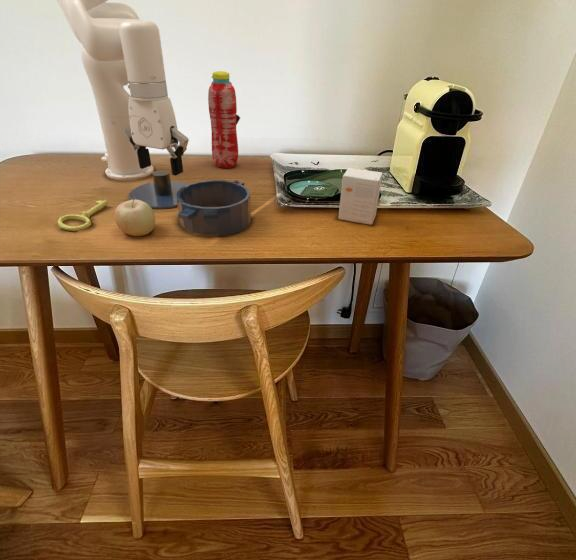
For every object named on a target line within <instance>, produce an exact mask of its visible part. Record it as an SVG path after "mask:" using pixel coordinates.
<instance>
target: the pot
mask: <svg viewBox="0 0 576 560" xmlns="http://www.w3.org/2000/svg"><path fill="white" fill-rule="evenodd" d="M251 201H252V200H251V192H250V189H249V188H248V187H247V186H245V182H243V181H239V180H234V181H230V180H222V179H221V180H219V179H210V180H209V179H208V180H200V181H195V182H192V183H188V185H186V186H184V187H182V188H181V189H180V190H179V191H178V192H177V205H178V207H177V217H178V220H179V225H180V226H181V227H183V229H185V230H187V231H189V232H191V233H193V234H194V233H195V234H199V235H205V236H216V238H220V237H221V238H222V237H228V236H232V235H235V234H238V233H241V232H243V231H244V230H245V229H246V228H248V227H249V225H250V223H251V221H252V220H251V219H252V210H251V209H252V207H251Z"/></svg>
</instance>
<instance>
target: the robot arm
mask: <svg viewBox="0 0 576 560" xmlns="http://www.w3.org/2000/svg"><path fill="white" fill-rule="evenodd" d="M108 1H109V0H57V2H58V4H59V6H60V8H61V11H62V12H63V13H62V14H63V15H64V16H65V18H66V20H67V22H68V24H69V27H70V29H71V30H72V32H73V35H74V36H75V37H76V39H77V40H78V42H79V43H81V45H82V48H81V49H82V50H81V61H82V64H83V68H84V71H85V73H86V76H87V79H88V81H89V84H90V87H91V90H92V93H93V97H94V100H95V104H96V110H97V113H98V116H99V117H98V118H99V121H100V126H101V131H102V135H103V140H104V144H105V149H106V152H105V153H104V156H101V161H102V162H103V163H107V168H106V169H105V171H104V172H105V176H107V177H108V178H110V179H114V180H124V181H125V180H126V181H127V180H137V179H142V178H145V177H148V176H150V175H152V173H153V172H154V171H155V169H154V166H153V165H152V161H151V155H150V151H149V148H150V149H157V150H167V152H168V154H169V155H170V156H171V157H170V158H169V162H170V167H171V168H170V169H171V175H172V176H173V177H174V176H178V175H180V174H183V173H184V165H183V159H182V158H183V157H182V156H184V154H185V152H186V151H187V148H188V144H189V141H190V139H189V137H187V136H186V135H185V134H183V132H181V131H180V130H179V129H178V124H177V119H176V114H175V111H174V107H173V103H172V100H171V98H170V97H169V95H168V92H169V91H168V86H167V85H168V84H167V79H166V78H167V77H166V70H165V64H164V57H163V49H162V42H161V34H160V29H159V27H158V25H157V24H156V23H155V22H153V21H149V20H142V19H140V17H139V16H138V14H137V12H136V11H135V10H134V9H133V8H132V7H130V6H129V5H128V4H125V3H121V2H108ZM125 86H127V88H128V90H129V92H128V91H127V90H126V89H125Z"/></svg>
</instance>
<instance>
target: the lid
mask: <svg viewBox="0 0 576 560" xmlns="http://www.w3.org/2000/svg"><path fill="white" fill-rule="evenodd" d="M151 177H152V181H151V182H147V183H144V184H141V185H138V186H137V187H135V188H133V189H132V190H131V191H130V192H129V193H128V199H129V200H133V199H134V197H136V198H135V199H136V200H141V201H143V202H145V203H147V204H148V205H149V206H150V207H151V208H152V210H166V209H173V208H174V209H175V208H178V205H177V192H178V191H179V190H180V189H181V188H182V187H184V186H186V185H188V184H189V183H188V182H184V181H177V180H171V173H170V171H169V170H167V169H166V170H164V169H159V170H154V171H153V173H152V174H151ZM129 200H128V201H129Z"/></svg>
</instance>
